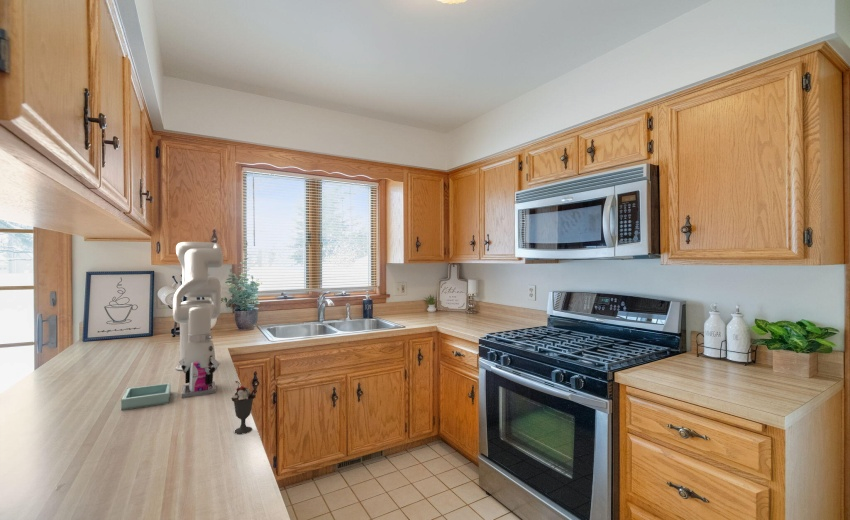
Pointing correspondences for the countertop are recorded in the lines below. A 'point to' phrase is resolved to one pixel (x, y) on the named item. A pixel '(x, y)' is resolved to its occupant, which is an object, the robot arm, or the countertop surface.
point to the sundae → (243, 406)
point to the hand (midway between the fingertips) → (199, 382)
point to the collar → (196, 393)
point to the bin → (146, 396)
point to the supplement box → (197, 378)
